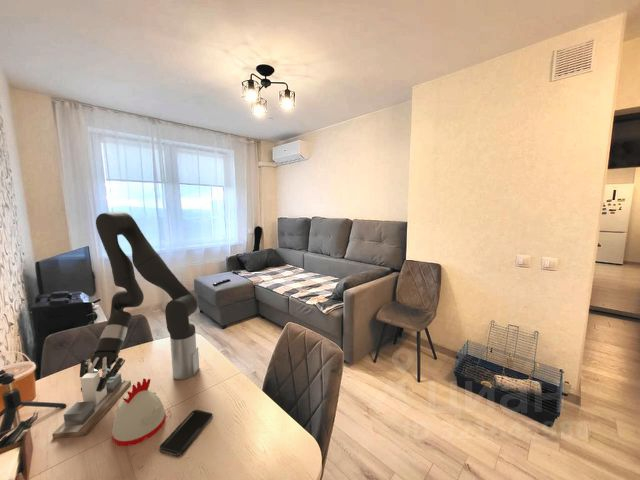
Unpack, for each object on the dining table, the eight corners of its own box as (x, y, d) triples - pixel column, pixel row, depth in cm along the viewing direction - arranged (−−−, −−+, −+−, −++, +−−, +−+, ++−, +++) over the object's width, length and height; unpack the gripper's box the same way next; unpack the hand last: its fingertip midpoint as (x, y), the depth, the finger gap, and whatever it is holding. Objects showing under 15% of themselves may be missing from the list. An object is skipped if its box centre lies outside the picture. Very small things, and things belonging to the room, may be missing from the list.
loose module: (107, 394, 92) (104, 368, 91) (96, 404, 87) (93, 377, 86) (94, 394, 92) (91, 368, 90) (83, 405, 87) (80, 378, 85)
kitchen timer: (175, 416, 87) (172, 375, 85) (133, 452, 74) (129, 405, 72) (145, 404, 91) (142, 365, 89) (101, 437, 79) (96, 392, 77)
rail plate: (130, 383, 102) (129, 369, 101) (85, 435, 79) (83, 417, 78) (106, 385, 100) (104, 370, 100) (52, 438, 78) (50, 419, 77)
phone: (157, 448, 74) (194, 409, 89) (157, 452, 74) (194, 412, 89) (180, 455, 72) (214, 413, 87) (180, 459, 73) (214, 416, 87)
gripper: (85, 337, 94) (60, 391, 83) (127, 335, 95) (108, 388, 85) (97, 343, 100) (75, 394, 89) (137, 341, 101) (119, 391, 91)
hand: (91, 391), depth 87 cm, fingers closed on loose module, 4 cm apart
